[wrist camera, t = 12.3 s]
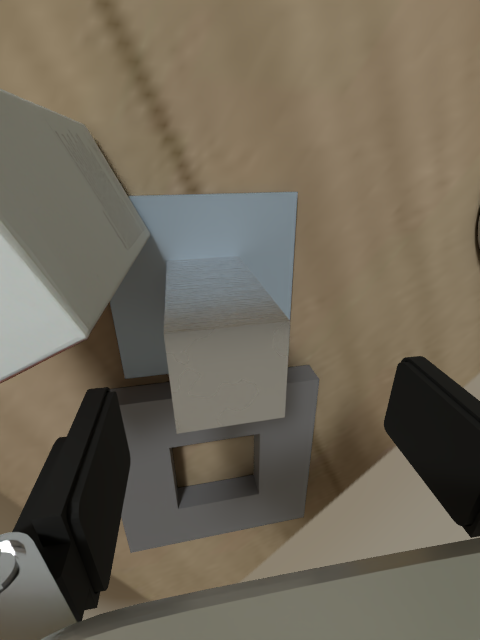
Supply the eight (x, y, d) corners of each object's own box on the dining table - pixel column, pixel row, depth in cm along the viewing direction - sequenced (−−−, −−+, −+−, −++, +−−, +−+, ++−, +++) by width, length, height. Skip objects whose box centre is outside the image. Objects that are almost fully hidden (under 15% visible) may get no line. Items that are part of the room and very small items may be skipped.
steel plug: (238, 255, 21) (290, 321, 12) (239, 319, 22) (284, 417, 14) (166, 260, 20) (163, 333, 11) (174, 325, 22) (176, 433, 13)
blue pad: (295, 191, 20) (297, 192, 20) (285, 357, 25) (287, 359, 25) (90, 197, 18) (89, 197, 18) (125, 375, 23) (125, 378, 23)
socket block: (309, 364, 26) (319, 379, 24) (296, 498, 33) (303, 517, 31) (99, 390, 23) (93, 408, 21) (133, 529, 30) (130, 552, 28)
